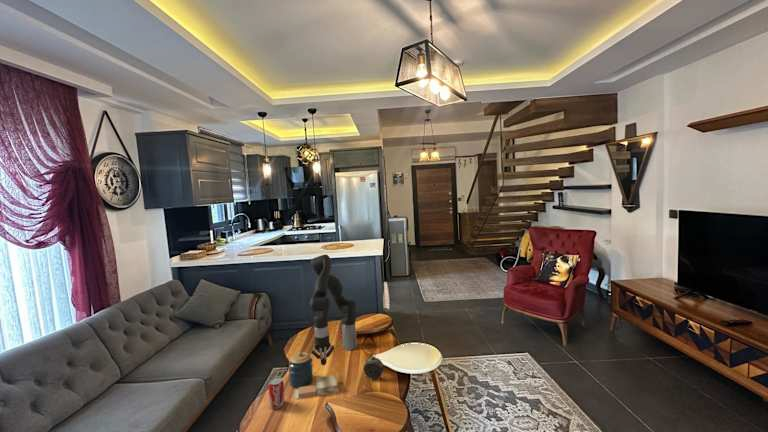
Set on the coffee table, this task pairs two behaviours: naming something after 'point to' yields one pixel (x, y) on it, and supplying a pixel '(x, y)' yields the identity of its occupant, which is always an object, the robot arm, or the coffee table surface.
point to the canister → (300, 370)
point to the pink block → (307, 391)
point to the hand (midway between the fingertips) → (323, 364)
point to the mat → (298, 395)
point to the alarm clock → (373, 367)
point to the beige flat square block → (326, 385)
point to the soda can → (276, 392)
